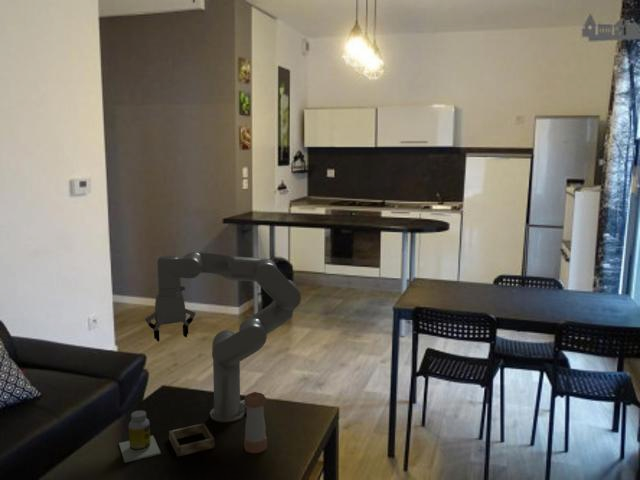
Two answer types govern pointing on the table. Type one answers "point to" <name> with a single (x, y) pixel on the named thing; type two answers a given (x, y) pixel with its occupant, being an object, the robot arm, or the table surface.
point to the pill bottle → (139, 431)
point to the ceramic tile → (132, 455)
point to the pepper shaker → (255, 423)
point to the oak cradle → (195, 445)
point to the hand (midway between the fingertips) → (171, 338)
